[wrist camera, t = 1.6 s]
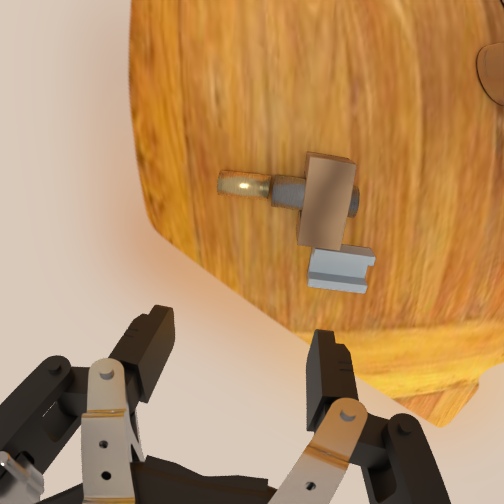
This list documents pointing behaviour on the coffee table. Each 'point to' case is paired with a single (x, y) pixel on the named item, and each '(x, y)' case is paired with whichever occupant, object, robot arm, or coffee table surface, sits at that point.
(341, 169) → the beam
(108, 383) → the robot arm
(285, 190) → the axle
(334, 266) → the cradle
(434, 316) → the coffee table surface
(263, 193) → the cylinder
